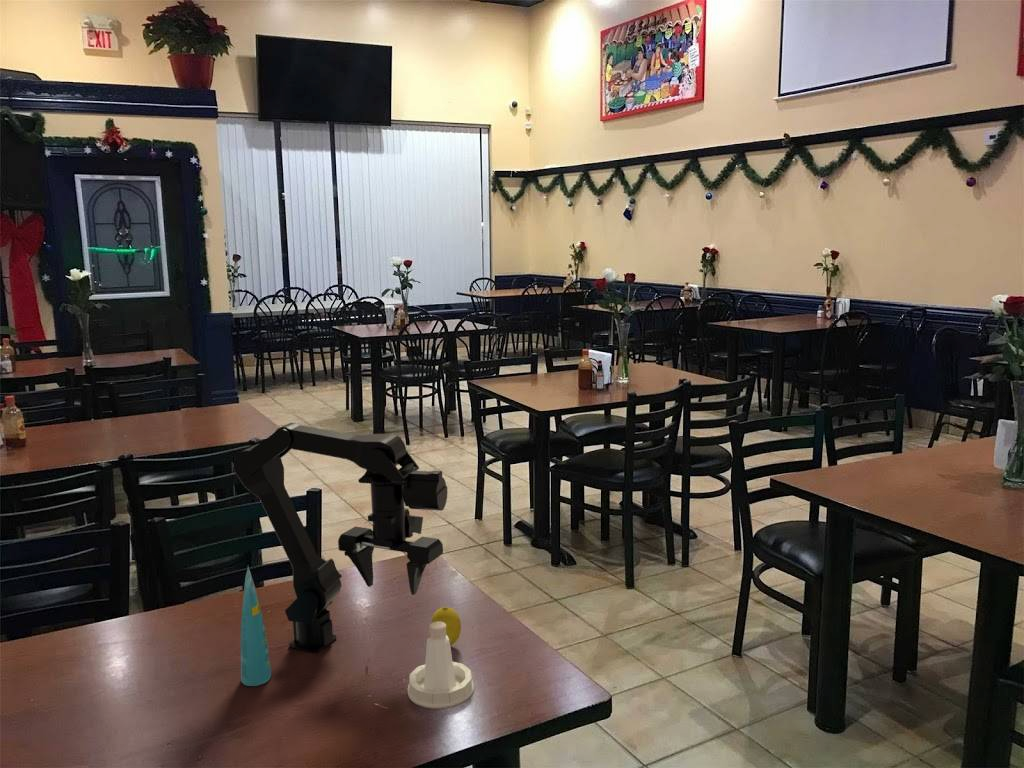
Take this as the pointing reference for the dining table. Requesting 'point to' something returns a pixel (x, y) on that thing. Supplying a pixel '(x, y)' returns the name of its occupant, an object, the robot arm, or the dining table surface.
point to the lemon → (449, 622)
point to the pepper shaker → (438, 659)
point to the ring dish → (441, 697)
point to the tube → (253, 639)
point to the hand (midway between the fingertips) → (391, 589)
